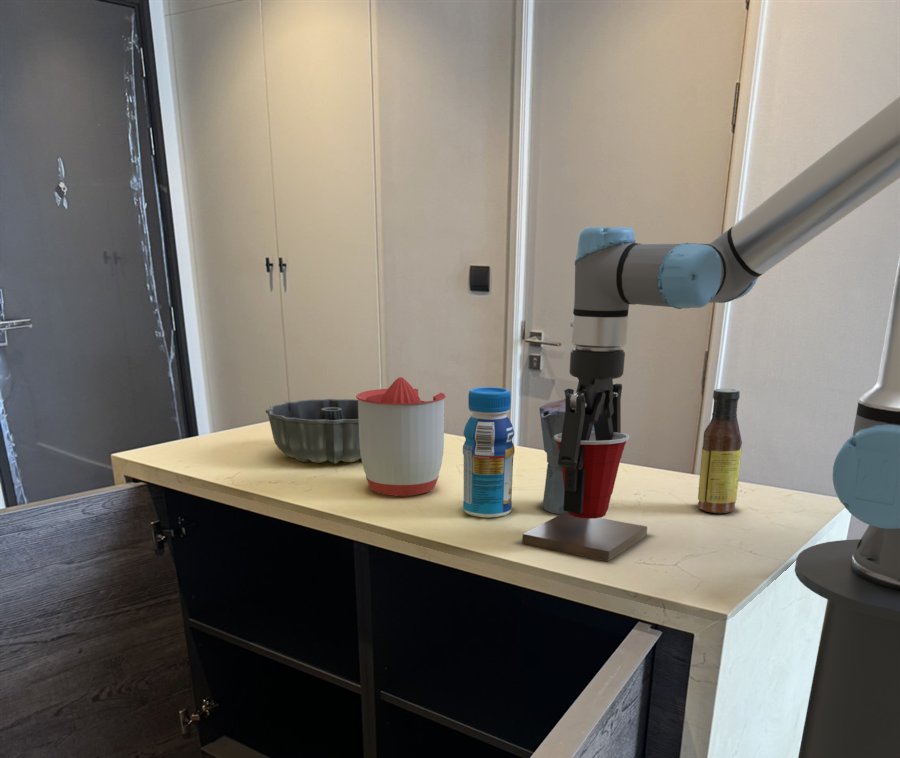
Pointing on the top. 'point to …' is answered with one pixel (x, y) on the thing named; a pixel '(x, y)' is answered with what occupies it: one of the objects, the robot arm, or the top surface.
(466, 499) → the beverage bottle
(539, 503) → the top surface
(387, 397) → the citrus juicer
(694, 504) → the top surface
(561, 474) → the moka pot
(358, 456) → the bundt pan
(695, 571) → the top surface
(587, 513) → the plastic cup
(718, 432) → the sauce bottle
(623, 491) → the top surface
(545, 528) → the trivet board
